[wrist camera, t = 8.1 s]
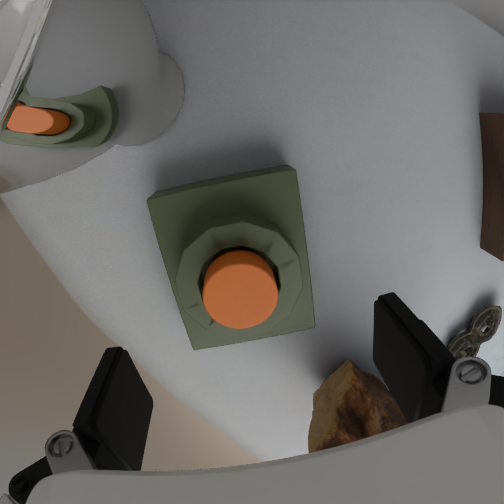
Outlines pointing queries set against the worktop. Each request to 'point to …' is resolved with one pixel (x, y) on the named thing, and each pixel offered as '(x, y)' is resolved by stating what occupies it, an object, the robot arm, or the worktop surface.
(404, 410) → the robot arm
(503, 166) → the block
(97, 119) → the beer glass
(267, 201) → the button box
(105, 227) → the worktop surface
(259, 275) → the button
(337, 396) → the decorative rock
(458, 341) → the corroded twin loop
